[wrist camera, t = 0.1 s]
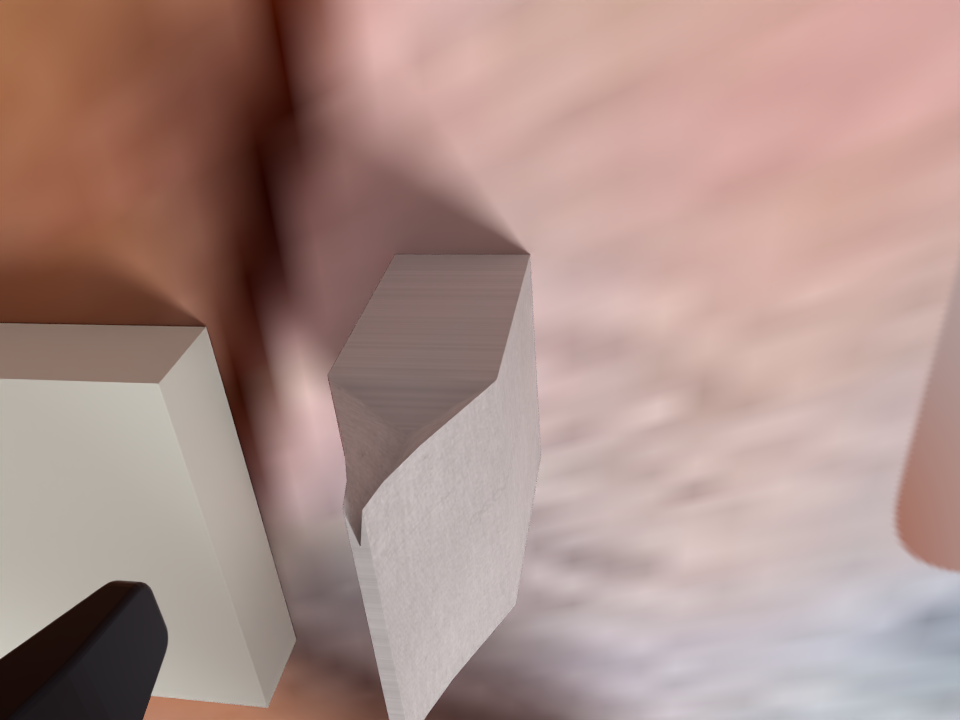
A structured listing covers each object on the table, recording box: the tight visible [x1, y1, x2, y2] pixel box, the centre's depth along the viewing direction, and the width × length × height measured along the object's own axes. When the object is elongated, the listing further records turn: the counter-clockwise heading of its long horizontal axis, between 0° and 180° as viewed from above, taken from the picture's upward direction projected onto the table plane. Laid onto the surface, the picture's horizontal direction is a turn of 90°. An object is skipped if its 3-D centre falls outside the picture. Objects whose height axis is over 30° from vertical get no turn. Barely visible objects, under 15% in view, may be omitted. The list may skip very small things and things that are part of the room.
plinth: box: [0, 323, 296, 708], centre depth 30 cm, size 14×14×3 cm
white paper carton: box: [328, 254, 541, 720], centre depth 21 cm, size 4×7×10 cm, turn 5°
